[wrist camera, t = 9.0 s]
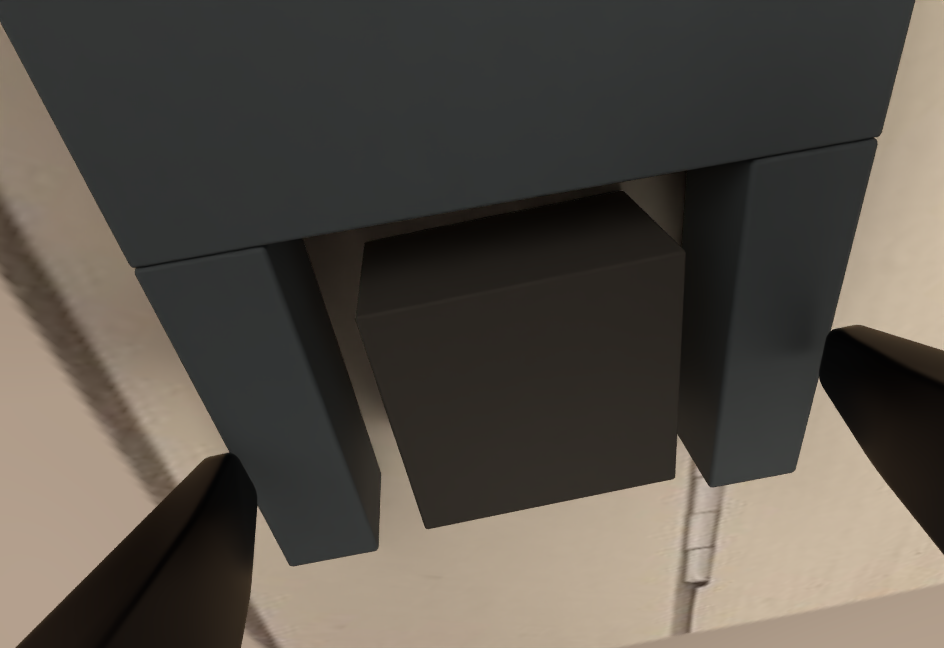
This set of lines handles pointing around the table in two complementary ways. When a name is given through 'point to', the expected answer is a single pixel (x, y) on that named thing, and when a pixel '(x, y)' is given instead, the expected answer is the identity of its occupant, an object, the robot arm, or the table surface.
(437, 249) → the black block
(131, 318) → the table surface
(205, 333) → the grey rectangular block
